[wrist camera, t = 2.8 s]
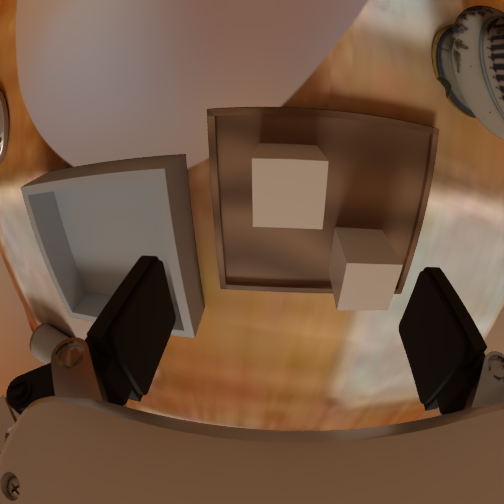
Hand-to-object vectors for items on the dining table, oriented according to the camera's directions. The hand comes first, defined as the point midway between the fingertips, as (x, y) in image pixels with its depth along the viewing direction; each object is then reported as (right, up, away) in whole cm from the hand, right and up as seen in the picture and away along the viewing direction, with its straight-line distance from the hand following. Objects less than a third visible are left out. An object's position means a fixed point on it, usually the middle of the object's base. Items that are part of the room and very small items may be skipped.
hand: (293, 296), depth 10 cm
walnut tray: (+5, +6, +15) cm, 17 cm away
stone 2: (+9, +2, +17) cm, 19 cm away
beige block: (+2, +8, +13) cm, 16 cm away
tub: (-16, +3, +19) cm, 25 cm away
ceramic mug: (-38, -15, +34) cm, 53 cm away
